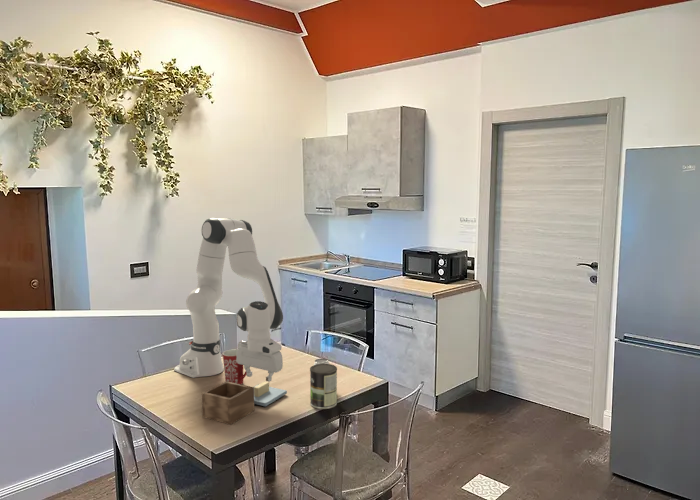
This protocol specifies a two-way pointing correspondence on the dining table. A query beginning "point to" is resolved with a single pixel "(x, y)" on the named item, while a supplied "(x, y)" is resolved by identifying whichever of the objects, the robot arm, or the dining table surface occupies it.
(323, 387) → the coffee can
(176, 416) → the dining table surface
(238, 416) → the box
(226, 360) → the mug
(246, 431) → the dining table surface
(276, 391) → the lid
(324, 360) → the can
